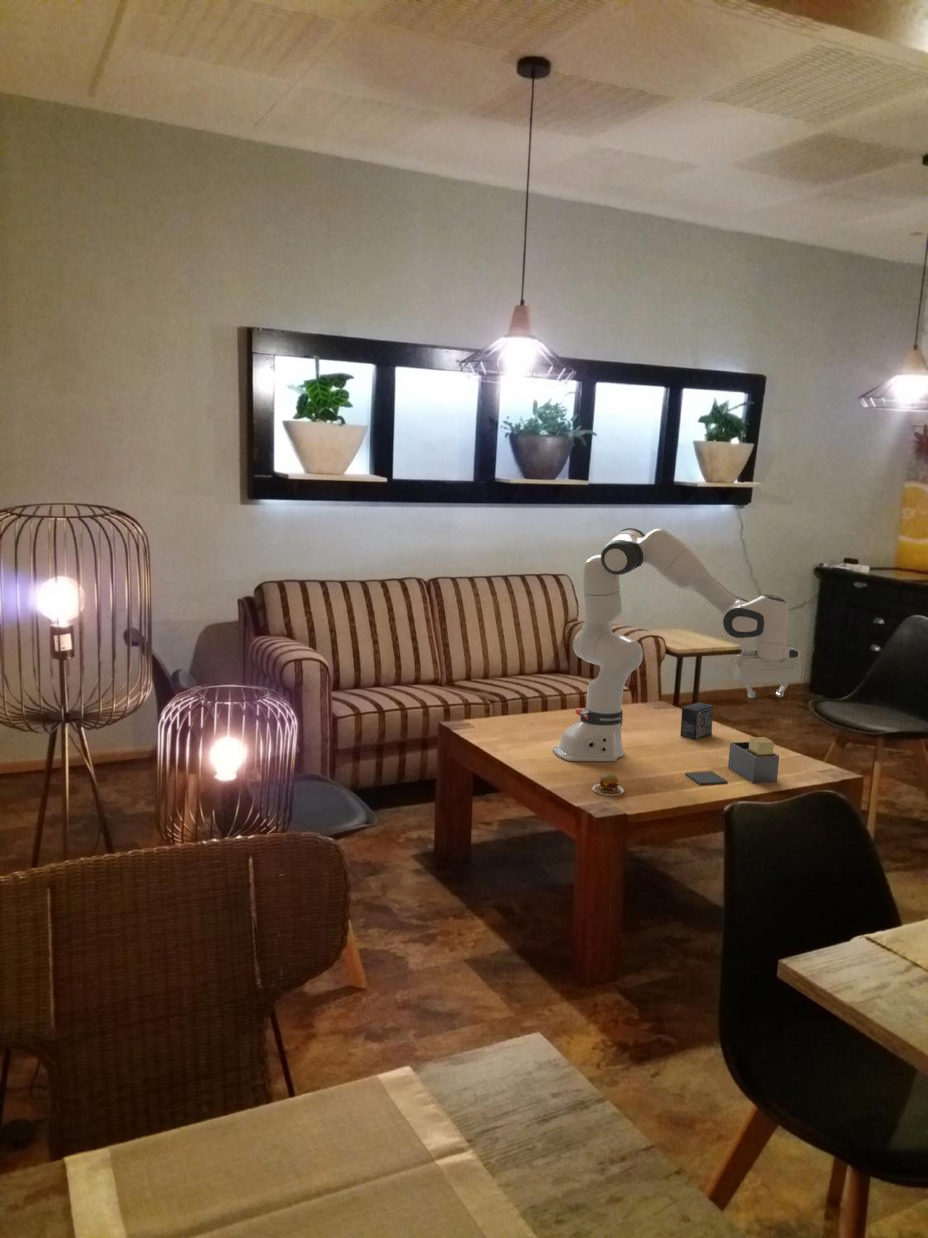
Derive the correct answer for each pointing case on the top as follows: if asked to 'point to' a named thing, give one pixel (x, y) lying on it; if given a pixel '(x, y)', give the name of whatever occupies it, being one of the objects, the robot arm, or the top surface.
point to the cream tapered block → (761, 746)
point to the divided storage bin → (752, 764)
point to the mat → (706, 778)
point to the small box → (696, 721)
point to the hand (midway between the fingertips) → (765, 696)
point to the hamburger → (608, 784)
